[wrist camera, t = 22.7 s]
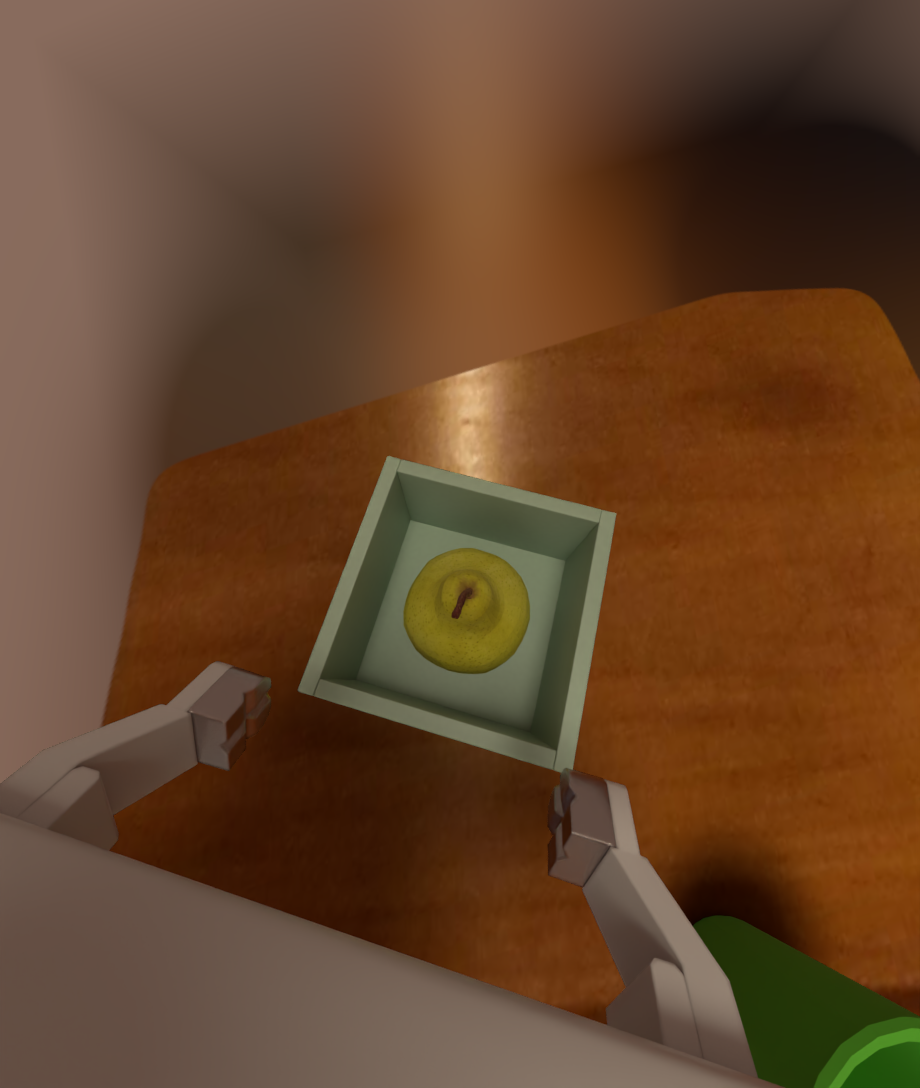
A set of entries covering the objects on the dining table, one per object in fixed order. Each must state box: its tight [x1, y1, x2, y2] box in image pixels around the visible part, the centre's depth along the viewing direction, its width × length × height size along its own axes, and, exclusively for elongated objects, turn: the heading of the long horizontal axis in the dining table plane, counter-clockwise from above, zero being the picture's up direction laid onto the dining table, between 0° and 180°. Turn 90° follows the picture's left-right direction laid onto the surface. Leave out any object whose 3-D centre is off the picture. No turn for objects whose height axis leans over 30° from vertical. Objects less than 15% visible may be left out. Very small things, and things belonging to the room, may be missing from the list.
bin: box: [298, 456, 616, 773], centre depth 24 cm, size 13×13×8 cm
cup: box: [693, 915, 920, 1088], centre depth 16 cm, size 9×9×11 cm
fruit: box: [403, 548, 530, 674], centre depth 21 cm, size 7×7×12 cm
